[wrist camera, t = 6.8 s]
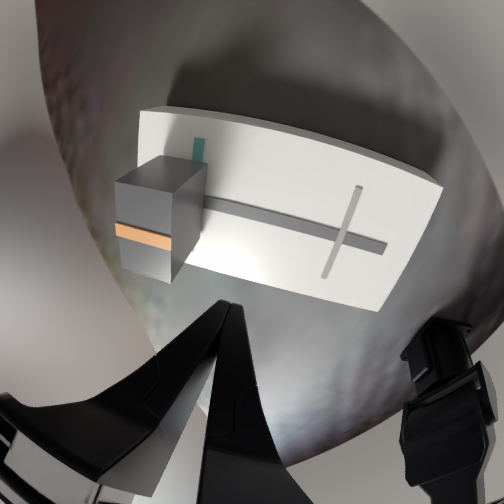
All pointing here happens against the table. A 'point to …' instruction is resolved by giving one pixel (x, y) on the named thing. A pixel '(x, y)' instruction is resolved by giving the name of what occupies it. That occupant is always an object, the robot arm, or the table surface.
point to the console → (296, 204)
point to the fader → (160, 215)
